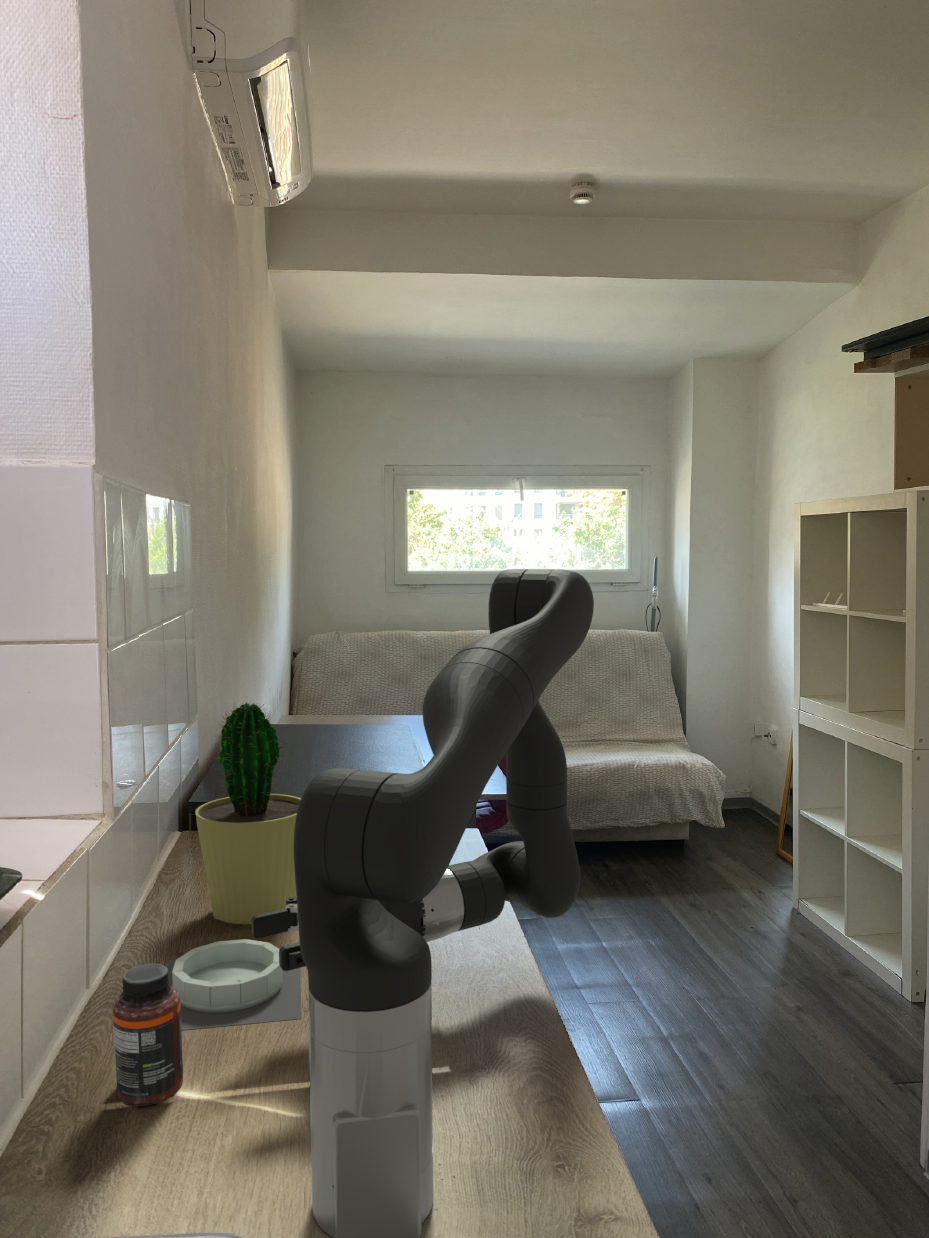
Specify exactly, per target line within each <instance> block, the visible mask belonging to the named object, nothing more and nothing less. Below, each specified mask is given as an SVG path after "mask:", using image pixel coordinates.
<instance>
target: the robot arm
mask: <svg viewBox="0 0 929 1238" xmlns="http://www.w3.org/2000/svg"><path fill="white" fill-rule="evenodd" d="M592 590H593V589H592V588H591V585H590V584H589V581H588V580H587V578H585V577H584V576H583V575H582V574H580V573H578V572H577V571H572V570H569V569H560V568H557V569H555V568H551V569H550V568H510V569H509V568H508V569H504V570H501V571H500V572H499V573H497V576H496V577H495V578H494V579H493V582H492V584H491V587H490V592H489V598H488V628H489V634H487V635H485V636H482V637H481V638H478V639H476V640H473V641H471V642H470V643H469V644H467V645H465V646H463V648H461V649H460V650H459V651H458V652H457V653H455V654H454V655H453V656H452V657H451V659H450V660H449V661H448V662H447V663H446V664H445V666H444V667H443V668H442V669H441V671H439V672H438V674H437V675H436V676H435V677H434V678H433V680H432V681H431V683H430V685H429V686H428V688H427V690H426V692H425V695H424V698H423V702H422V704H423V705H422V722H423V723H422V724H423V728H424V731H425V735H426V739H427V742H428V745H429V747H430V750H431V753H432V755H433V756H432V757H431V759H430V760H429V761H428V763H426V765H424V766H423V768H421V769H419V770H417V771H415V772H411V773H399V772H387V771H377V770H367V769H359V768H358V769H356V768H343V767H337V768H336V767H334V768H329V769H326V770H323V771H321V772H319V773H317V774H316V775H315V776H314V777H313V778H312V779H311V780H310V782H309V783H308V784H307V786H306V787H305V790H304V791H303V794H301V795H302V796H301V797H300V798H301V801H300V804H299V807H298V810H297V815H296V821H295V828H294V870H295V883H296V895H297V896H294V897H289V898H286V908H285V909H282V910H277V911H273V912H268V913H264V914H259V915H255V916H253V917H252V919H251V924H250V925H251V926H250V927H251V928H250V929H251V935H252V936H253V937H254V938H255V939H262V938H265V937H270V936H274V935H278V934H282V933H283V934H284V933H286V932H289V931H294V932H296V931H297V932H298V938H299V940H298V941H299V942H295V943H291V944H286V945H282V946H281V947H280V948H279V949H280V950H279V966H280V967H281V969H282V970H283V971H289V970H293V969H297V968H300V969H301V968H304V967H306V969H307V979H308V981H307V982H308V989H307V990H308V1045H309V1046H308V1048H309V1049H308V1050H309V1052H308V1053H309V1056H308V1057H309V1058H308V1059H309V1106H310V1108H309V1110H310V1111H309V1112H310V1115H309V1117H310V1159H311V1160H310V1161H311V1163H310V1164H311V1166H310V1167H311V1202H312V1215H313V1218H314V1220H315V1222H316V1223H317V1225H318V1226H319V1227H320V1229H321V1230H323V1232H325V1233H326V1234H328V1235H329V1236H330V1237H331V1238H421V1237H422V1224H423V1223H424V1222H425V1220H426V1219H427V1217H428V1216H429V1214H430V1213H431V1210H432V1207H433V1206H434V1205H433V1203H434V1145H433V1143H434V1142H433V1141H434V1140H433V1137H434V1135H433V1134H434V1133H433V1131H434V1130H433V1129H434V1128H433V1038H432V1037H433V1033H432V1032H433V1029H432V1027H433V1025H432V1023H433V1022H432V1021H433V1019H432V1018H433V1015H432V1014H433V1012H432V1011H433V1004H432V1003H433V1001H432V999H433V997H432V993H433V992H432V990H433V989H432V987H433V986H432V984H433V983H432V979H433V976H432V973H433V971H432V968H433V967H432V953H431V949H430V946H429V944H428V942H431V941H437V940H439V939H441V938H442V939H443V938H444V937H446V936H448V935H451V934H454V933H457V932H459V931H464V930H468V929H471V928H476V927H479V926H482V925H486V924H488V923H491V922H493V921H494V920H496V919H497V918H498V917H500V915H501V914H502V911H503V910H504V908H505V903H506V902H507V901H515V902H517V903H519V904H520V905H522V906H523V907H525V908H526V909H528V910H530V911H531V912H533V913H535V914H536V915H538V916H540V917H543V918H546V919H547V918H549V919H552V918H553V919H554V918H559V917H560V916H563V915H564V914H566V913H567V912H568V911H569V910H570V909H571V908H572V907H573V905H574V903H575V901H576V899H577V898H578V894H579V891H580V885H581V870H580V867H581V866H580V863H579V857H578V852H577V849H576V843H575V840H574V835H573V831H572V827H571V824H570V821H569V816H568V765H567V762H568V761H567V757H566V752H565V749H564V745H563V743H562V740H561V738H560V735H559V734H558V733H557V731H556V729H555V727H554V725H553V724H552V722H551V720H550V718H549V717H548V715H547V714H546V711H545V710H544V708H543V706H542V705H541V702H540V701H539V699H540V698H541V696H542V694H543V693H544V692H545V690H546V689H547V687H548V686H549V684H550V683H551V681H552V680H553V679H554V677H555V676H556V674H558V673H559V672H560V670H562V668H563V667H564V666H565V665H566V664H567V662H569V661H570V659H571V658H572V657H573V656H574V655H575V654H576V653H577V651H579V649H580V648H581V646H582V644H583V643H584V641H585V640H586V637H587V635H588V633H589V632H590V631H589V630H590V627H591V626H592V625H591V624H592V621H593V616H594V610H595V609H594V608H595V606H594V605H595V604H594V601H595V600H594V595H593V594H594V593H593V591H592ZM504 756H505V762H506V763H505V764H506V765H505V769H506V770H505V771H506V772H505V777H506V780H505V783H506V785H505V787H506V794H505V795H506V799H505V800H506V803H505V804H506V816H507V820H508V822H509V824H510V825H511V826H512V827H513V829H514V830H515V831H516V832H517V833H518V834H519V836H520V837H521V839H522V840H521V841H520V840H519V841H517V840H516V841H511V842H508V843H505V844H502V845H500V846H498V847H496V848H494V849H492V850H490V851H488V852H485V853H484V854H481V855H480V856H479V857H477V858H475V859H474V860H471V861H470V860H469V861H463V862H457V863H453V864H451V861H452V859H453V857H454V855H455V853H456V851H457V849H458V846H459V845H460V843H461V840H462V838H463V835H464V834H465V832H466V829H467V827H468V825H469V823H470V820H471V818H472V816H473V814H474V811H475V809H476V807H477V804H478V803H479V801H480V799H481V797H482V794H483V793H484V790H485V788H486V786H487V784H488V783H489V781H490V779H491V778H492V776H493V774H494V773H495V771H496V769H497V767H498V765H499V764H500V763H501V761H502V759H503V757H504Z"/></svg>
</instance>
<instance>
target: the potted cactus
mask: <svg viewBox="0 0 929 1238" xmlns="http://www.w3.org/2000/svg"><path fill="white" fill-rule="evenodd" d="M266 702H267V701H266ZM266 702H265V703H264V704H262V705H261V706H259V705H258V704H259V703H257V704H256V703H252V702H251V703H250V702H245V703H243V704H240V706H238V707H232V709H233V710H232V709H231V710H230V712H231V713H230V712H229V711H227V713H228V714H227V713H225V716H226V717H225V716H223V715H221V717H222V718H223V719H224V720H225V722H224V720H221V722H222V723H221V722H219V723H220V724H219V723H218V726H219V728H221V730H220V734H221V735H220V736H219V735H218V736H215V737H216V739H215V740H217V738H219V740H220V743H216V744H215V743H214V745H217V746H218V747H217V749H218V750H220V751H218V752H216V754H217V755H215V758H216V760H219V762H218V763H216V765H218V766H223V772H224V773H219V774H217V776H222V777H224V780H221V781H219V783H220V782H224V781H225V783H224V785H222V783H221V784H219V789H220V788H224V789H223V791H224V790H227V791H226V792H227V794H228V796H227V797H226V796H225V797H222V798H217V799H215V800H211V801H208V802H206V803H204V804H202V805H201V804H200V806H198V807H197V808H195V811H194V813H195V816H196V817H195V818H196V827H197V832H198V837H199V843H200V849H201V855H202V860H203V866H204V871H205V878H206V883H207V890H208V894H209V901H210V906H211V907H210V908H211V912H212V915H213V916H212V917H213V918H214V920H219V921H221V922H224V923H227V924H234V925H251V919H252V917H253V916H255V915H259V914H264V913H268V912H273V911H277V910H282V909H285V908H286V898H289V897H294V896H297V895H296V883H295V870H294V828H295V821H296V815H297V810H298V807H299V804H300V801H301V798H302V797H298V796H294V795H289V794H281V793H280V794H279V793H274V792H273V791H272V786H273V787H274V786H275V787H278V786H279V785H277V783H275V782H273V779H275V778H279V776H277V773H279V771H278V770H277V768H279V769H280V770H282V768H281V767H279V766H277V763H280V762H279V761H281V760H282V759H281V758H282V757H283V755H281V754H282V753H284V751H285V749H284V748H285V747H287V746H288V745H287V744H285V745H283V746H279V745H280V743H283V742H285V741H286V740H279V737H278V735H280V733H281V731H279V732H277V730H276V729H275V727H276V726H274V727H273V723H272V722H271V718H272V715H271V713H270V712H267V711H268V707H267V706H268V704H267V706H266V707H265V708H264V710H263V706H264V705H265V704H266ZM232 705H235V702H233V704H232ZM279 730H282V728H280V729H279ZM218 755H219V756H218ZM209 759H212V757H211V758H209ZM281 762H282V763H283V761H281ZM280 764H281V763H280ZM276 766H277V768H276ZM220 785H221V786H220ZM279 787H280V786H279Z"/></svg>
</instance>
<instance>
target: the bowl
mask: <svg viewBox="0 0 929 1238" xmlns="http://www.w3.org/2000/svg"><path fill="white" fill-rule="evenodd" d="M279 950H280V948H278V947H277V946H275V945H274V944H272V943H271V942H267V941H260V940H253V939H247V938H246V939H245V938H243V939H230V940H220V941H219V940H218V941H215V942H214V941H213V942H211V943H209V944H204V945H201V946H198V947H197V946H196V947H195V948H192V949H191V950H189V951H187V952H186V953H184V954H183V955H181V956H180V957H177V958H176V959H177V960H176V961H175V964H174V968H173V971H172V979H173V988H175V989H176V990H177V991H178V993H179V996H180V1005H181V1006H183V1007H185V1008H187V1009H190V1010H194V1011H198V1012H207V1013H223V1012H232V1011H238V1010H243V1009H247V1008H250V1007H253V1006H256V1005H259V1004H261V1003H263V1002H265V1001H267V1000H269V999H270V998H272V997H273V996H275V995H276V994H277V993H278V992H279V991H280V989H281V987H282V984H283V970H282V969H281V967H280V966H279Z"/></svg>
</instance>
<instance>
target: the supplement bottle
mask: <svg viewBox="0 0 929 1238" xmlns="http://www.w3.org/2000/svg"><path fill="white" fill-rule="evenodd" d="M168 983H169V979H168V969H167V967H165V965H163V964H160V963H145V964H140V965H136V966H134V967H131V968H129V969H128V970H126V971H125V972H124V973H123V976H122V992H121V993H120V995H118V996H117V998H116V999H115V1001H114V1003H113V1006H112V1026H113V1027H112V1028H113V1047H114V1049H113V1050H114V1072H115V1077H114V1078H115V1087H116V1095H117V1098H118V1099H119V1100H120V1101H121V1102H122V1103H124V1104H126V1105H130V1106H134V1107H144V1106H152V1105H154V1104H159V1103H161V1102H163V1101H165V1100H168V1099H169V1098H171V1097H172V1096H173V1095H174V1094H175V1093H176V1092H178V1091H179V1090H180V1088H181V1087H182V1086H183V1081H184V1064H183V1063H184V1062H183V1060H184V1059H183V1058H184V1057H183V1056H184V1055H183V1035H182V1034H183V1031H182V1030H181V1009H180V996H179V993H178V991H177V990H176V989H175V988H173V987H172V986H169V985H168Z"/></svg>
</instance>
